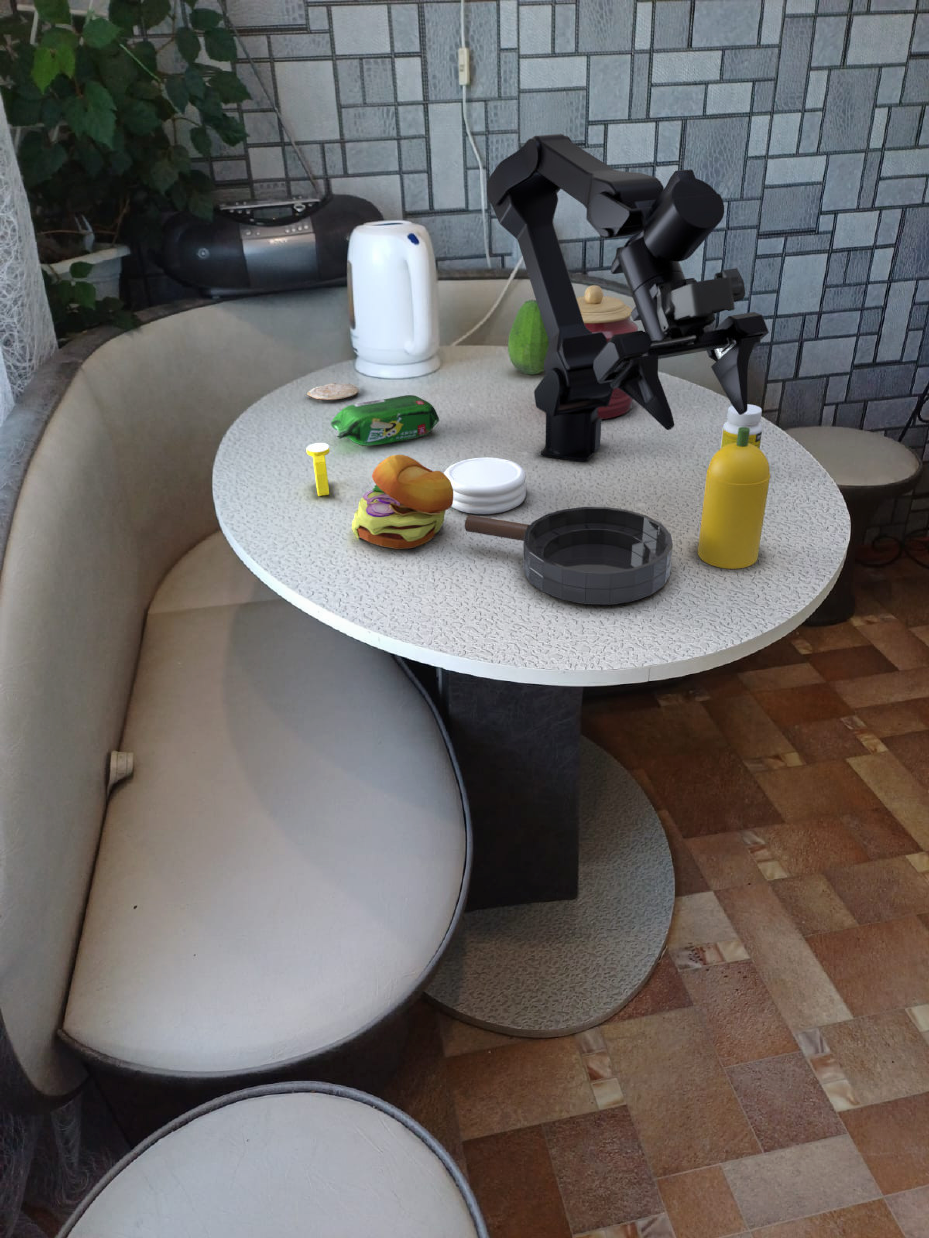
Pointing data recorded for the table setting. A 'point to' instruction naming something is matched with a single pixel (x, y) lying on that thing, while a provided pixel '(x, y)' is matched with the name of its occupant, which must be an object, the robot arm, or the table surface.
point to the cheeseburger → (403, 504)
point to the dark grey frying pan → (597, 555)
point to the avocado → (528, 340)
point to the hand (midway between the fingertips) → (707, 420)
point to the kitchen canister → (607, 335)
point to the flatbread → (333, 391)
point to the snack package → (386, 420)
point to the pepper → (734, 504)
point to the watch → (320, 466)
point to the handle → (495, 527)
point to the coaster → (486, 485)
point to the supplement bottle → (742, 425)
